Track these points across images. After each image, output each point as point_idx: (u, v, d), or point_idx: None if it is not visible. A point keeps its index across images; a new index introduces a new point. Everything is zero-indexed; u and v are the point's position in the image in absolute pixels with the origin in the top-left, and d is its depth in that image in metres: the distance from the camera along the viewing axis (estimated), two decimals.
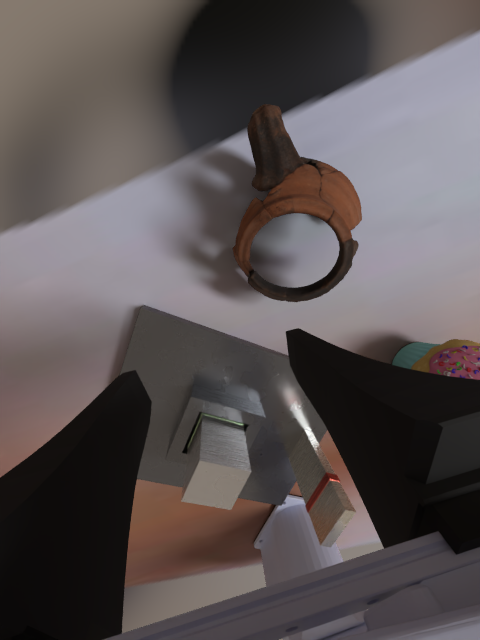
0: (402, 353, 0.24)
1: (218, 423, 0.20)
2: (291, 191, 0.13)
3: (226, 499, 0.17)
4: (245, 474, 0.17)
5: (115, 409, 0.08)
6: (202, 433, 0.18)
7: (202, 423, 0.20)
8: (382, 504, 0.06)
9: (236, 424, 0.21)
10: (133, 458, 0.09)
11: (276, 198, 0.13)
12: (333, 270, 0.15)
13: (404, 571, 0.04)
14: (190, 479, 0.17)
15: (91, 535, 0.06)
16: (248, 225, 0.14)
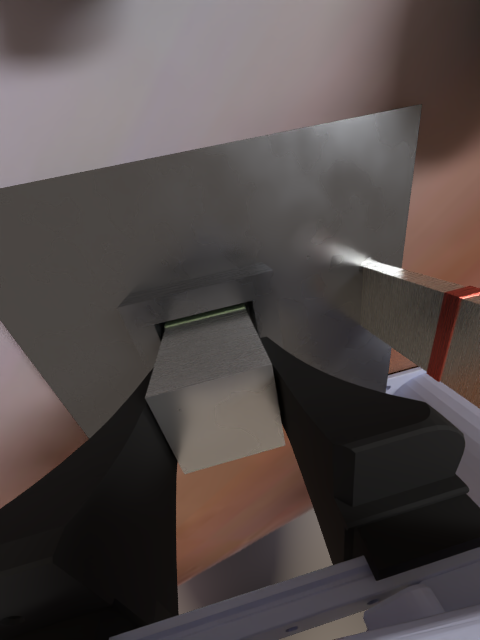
0: None
1: (196, 325, 0.11)
2: None
3: (262, 434, 0.08)
4: (263, 375, 0.07)
5: None
6: (160, 351, 0.09)
7: (164, 338, 0.10)
8: (326, 522, 0.06)
9: (231, 312, 0.11)
10: None
11: None
12: None
13: (404, 571, 0.04)
14: None
15: (150, 517, 0.06)
16: None
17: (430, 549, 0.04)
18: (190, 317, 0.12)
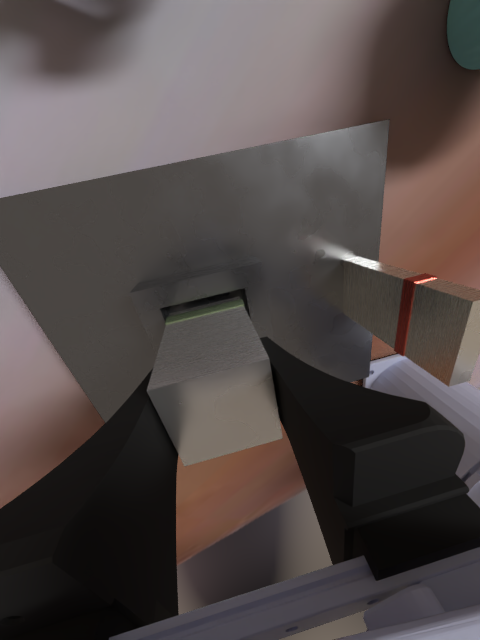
0: None
1: (195, 322, 0.11)
2: None
3: (260, 427, 0.09)
4: (261, 369, 0.08)
5: None
6: (161, 347, 0.09)
7: (164, 335, 0.10)
8: (326, 522, 0.06)
9: (230, 309, 0.11)
10: (173, 447, 0.09)
11: None
12: None
13: (404, 571, 0.04)
14: None
15: (150, 517, 0.06)
16: None
17: (430, 549, 0.04)
18: (190, 314, 0.12)
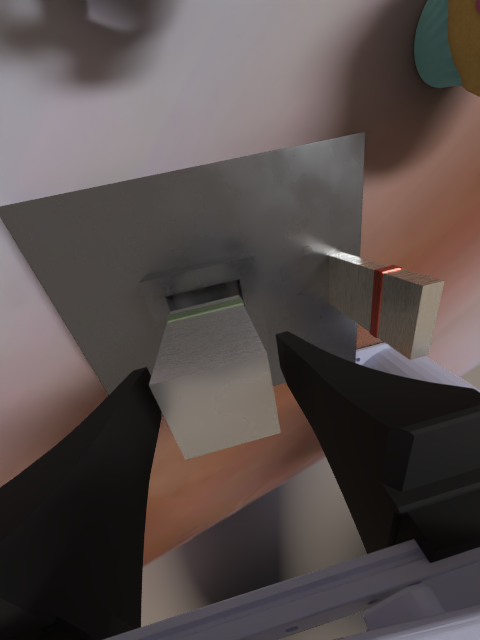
0: (424, 18, 0.12)
1: (196, 320, 0.11)
2: None
3: (259, 422, 0.09)
4: (259, 365, 0.08)
5: (129, 405, 0.08)
6: (162, 344, 0.10)
7: (165, 332, 0.11)
8: (364, 510, 0.06)
9: (230, 308, 0.12)
10: (146, 454, 0.09)
11: None
12: None
13: (404, 571, 0.04)
14: None
15: (111, 529, 0.06)
16: None
17: None
18: (190, 313, 0.12)
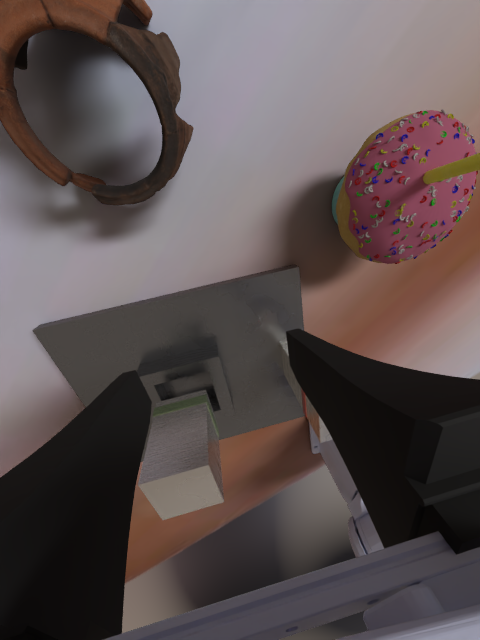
0: (334, 199, 0.18)
1: (172, 418, 0.16)
2: None
3: (208, 497, 0.14)
4: (204, 470, 0.13)
5: (115, 409, 0.08)
6: (148, 443, 0.15)
7: (151, 429, 0.16)
8: (382, 505, 0.06)
9: (197, 406, 0.17)
10: (133, 458, 0.09)
11: None
12: None
13: (404, 571, 0.04)
14: None
15: (91, 535, 0.06)
16: (5, 128, 0.10)
17: None
18: (170, 408, 0.17)
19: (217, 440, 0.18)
